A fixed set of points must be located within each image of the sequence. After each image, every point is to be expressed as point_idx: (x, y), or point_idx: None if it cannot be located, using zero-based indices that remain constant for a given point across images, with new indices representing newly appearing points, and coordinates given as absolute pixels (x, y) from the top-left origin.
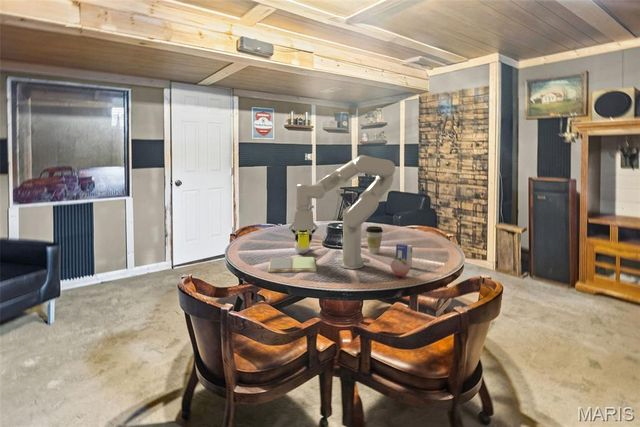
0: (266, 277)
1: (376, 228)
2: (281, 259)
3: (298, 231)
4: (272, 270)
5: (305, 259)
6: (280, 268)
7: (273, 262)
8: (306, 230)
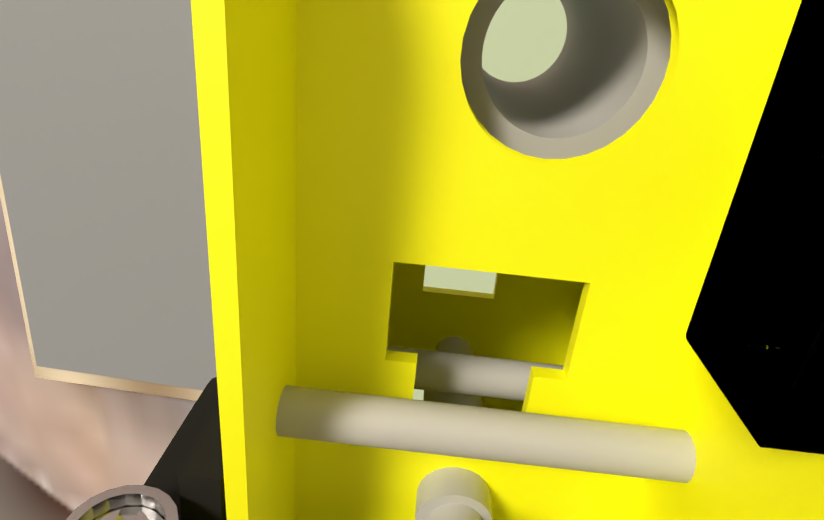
0: (65, 474)
1: None
2: None
3: (228, 503)
4: (83, 382)
5: (517, 65)
6: (158, 381)
7: (33, 134)
8: (772, 397)
